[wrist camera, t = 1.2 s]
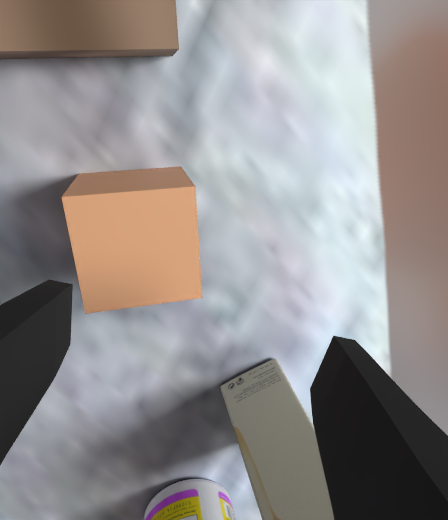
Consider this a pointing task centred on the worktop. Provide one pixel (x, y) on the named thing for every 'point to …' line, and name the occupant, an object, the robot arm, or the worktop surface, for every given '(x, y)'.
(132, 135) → the worktop surface
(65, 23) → the walnut block
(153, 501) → the supplement bottle
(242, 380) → the skincare box
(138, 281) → the orange cube
